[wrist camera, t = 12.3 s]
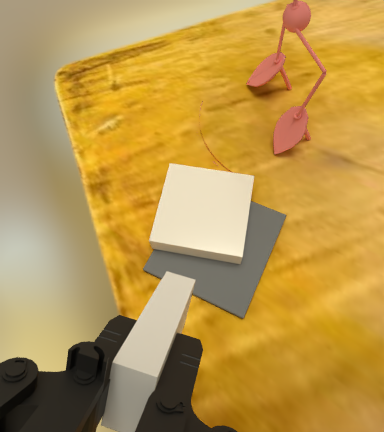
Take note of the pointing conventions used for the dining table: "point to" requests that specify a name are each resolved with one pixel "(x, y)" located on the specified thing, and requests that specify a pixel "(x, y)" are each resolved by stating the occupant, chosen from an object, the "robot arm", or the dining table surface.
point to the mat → (226, 264)
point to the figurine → (296, 116)
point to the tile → (203, 213)
